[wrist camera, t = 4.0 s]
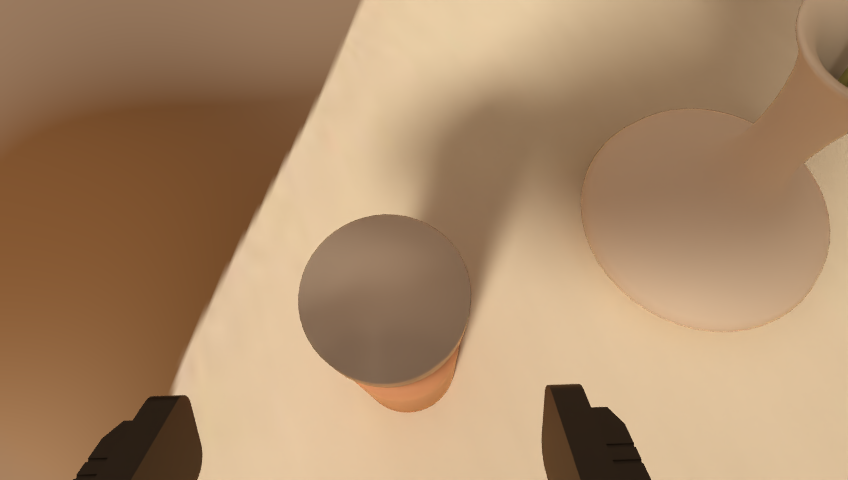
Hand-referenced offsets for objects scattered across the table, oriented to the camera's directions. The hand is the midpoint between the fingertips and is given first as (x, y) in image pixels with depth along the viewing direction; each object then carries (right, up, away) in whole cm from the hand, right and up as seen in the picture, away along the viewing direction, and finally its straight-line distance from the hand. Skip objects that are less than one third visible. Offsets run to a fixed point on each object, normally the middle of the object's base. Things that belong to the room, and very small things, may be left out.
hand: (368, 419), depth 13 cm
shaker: (+1, -2, +14) cm, 14 cm away
